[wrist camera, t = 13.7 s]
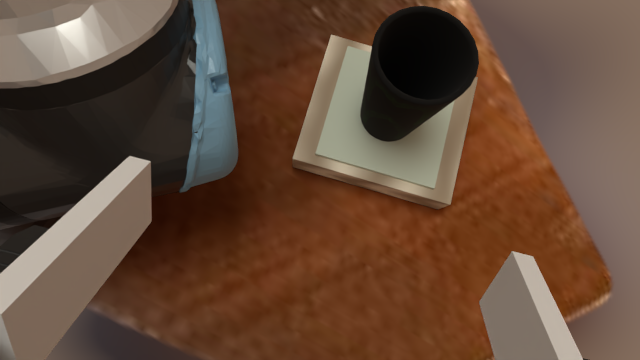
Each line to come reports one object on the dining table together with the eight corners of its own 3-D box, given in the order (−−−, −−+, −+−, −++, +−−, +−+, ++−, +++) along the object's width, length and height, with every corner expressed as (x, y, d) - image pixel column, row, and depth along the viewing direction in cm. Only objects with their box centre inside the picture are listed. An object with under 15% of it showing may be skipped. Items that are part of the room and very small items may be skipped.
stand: (292, 166, 42) (292, 157, 39) (328, 51, 45) (331, 31, 41) (437, 209, 42) (452, 204, 39) (464, 91, 45) (479, 75, 42)
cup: (372, 66, 41) (403, -13, 29) (438, 102, 41) (496, 36, 29) (335, 128, 39) (353, 70, 28) (404, 166, 39) (451, 124, 27)
